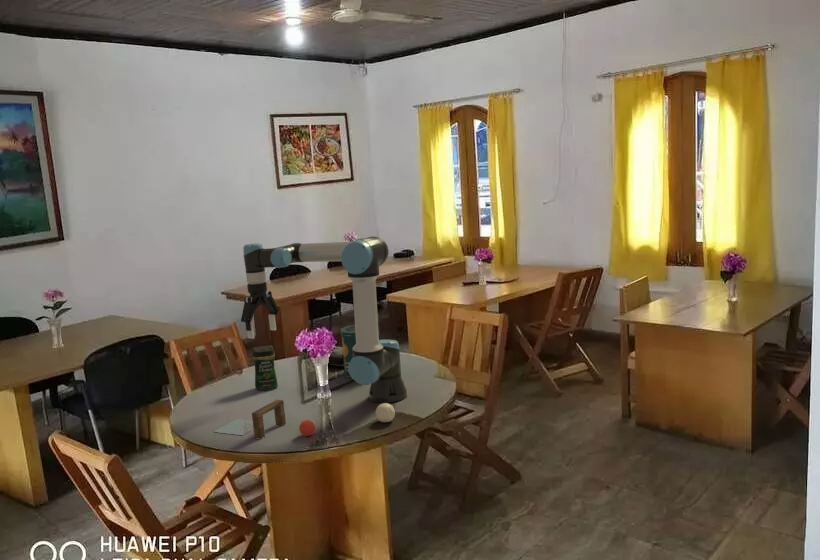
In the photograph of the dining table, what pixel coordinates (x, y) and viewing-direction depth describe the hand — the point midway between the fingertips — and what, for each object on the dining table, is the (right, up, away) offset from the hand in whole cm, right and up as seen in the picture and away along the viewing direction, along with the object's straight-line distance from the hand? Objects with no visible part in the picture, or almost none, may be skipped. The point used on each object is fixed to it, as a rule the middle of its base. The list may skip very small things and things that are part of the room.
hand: (262, 334), depth 282 cm
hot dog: (+26, -19, +47) cm, 57 cm away
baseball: (+51, -29, -31) cm, 67 cm away
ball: (+24, -30, -39) cm, 55 cm away
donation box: (+39, -20, +31) cm, 53 cm away
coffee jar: (-2, -25, +20) cm, 32 cm away
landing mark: (-3, -32, -26) cm, 41 cm away
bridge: (+10, -32, -32) cm, 46 cm away
